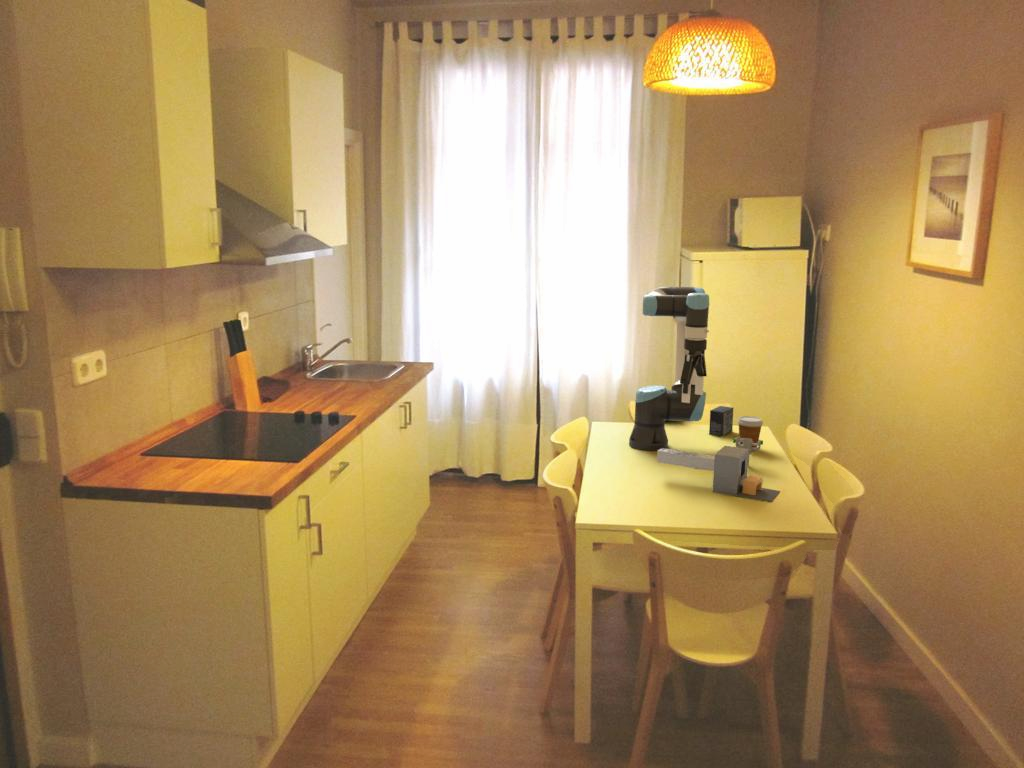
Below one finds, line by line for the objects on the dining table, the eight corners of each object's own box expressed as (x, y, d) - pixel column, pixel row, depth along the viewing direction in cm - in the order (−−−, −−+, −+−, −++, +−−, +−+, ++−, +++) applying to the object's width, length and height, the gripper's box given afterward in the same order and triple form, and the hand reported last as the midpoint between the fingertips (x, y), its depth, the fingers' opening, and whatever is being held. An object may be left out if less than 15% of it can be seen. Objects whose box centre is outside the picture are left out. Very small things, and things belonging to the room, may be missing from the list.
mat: (733, 496, 274) (733, 494, 274) (743, 485, 285) (743, 484, 284) (771, 502, 269) (771, 501, 268) (779, 492, 279) (779, 490, 279)
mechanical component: (761, 467, 305) (763, 440, 303) (731, 465, 307) (733, 439, 305) (760, 465, 308) (762, 438, 306) (731, 463, 310) (733, 437, 308)
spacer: (742, 492, 276) (743, 479, 275) (749, 487, 282) (750, 474, 281) (754, 495, 274) (755, 482, 273) (761, 489, 280) (762, 476, 279)
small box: (718, 429, 359) (719, 405, 357) (732, 431, 355) (734, 407, 353) (708, 434, 350) (709, 409, 348) (723, 437, 346) (724, 412, 344)
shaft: (657, 462, 290) (657, 450, 289) (661, 459, 293) (661, 448, 292) (732, 474, 277) (733, 462, 276) (736, 471, 281) (736, 459, 280)
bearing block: (712, 492, 278) (714, 454, 275) (722, 482, 288) (724, 445, 285) (736, 496, 274) (739, 457, 271) (746, 486, 284) (748, 449, 281)
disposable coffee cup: (734, 450, 327) (736, 420, 325) (737, 444, 336) (739, 414, 333) (759, 453, 323) (761, 422, 321) (762, 447, 332) (764, 417, 330)
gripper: (694, 345, 279) (690, 407, 284) (717, 334, 300) (714, 392, 305) (672, 342, 283) (669, 404, 288) (697, 332, 304) (693, 389, 308)
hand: (692, 398), depth 296 cm, fingers open, 13 cm apart
